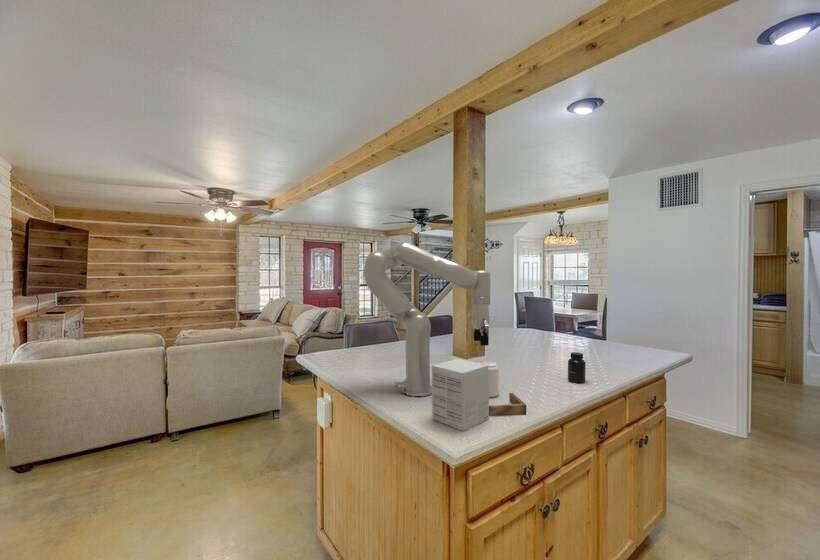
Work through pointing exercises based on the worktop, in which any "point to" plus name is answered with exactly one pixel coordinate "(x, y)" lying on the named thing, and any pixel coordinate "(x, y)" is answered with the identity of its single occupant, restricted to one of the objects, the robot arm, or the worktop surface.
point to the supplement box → (460, 393)
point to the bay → (508, 407)
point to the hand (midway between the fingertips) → (480, 343)
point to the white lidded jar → (492, 378)
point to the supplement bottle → (576, 368)
